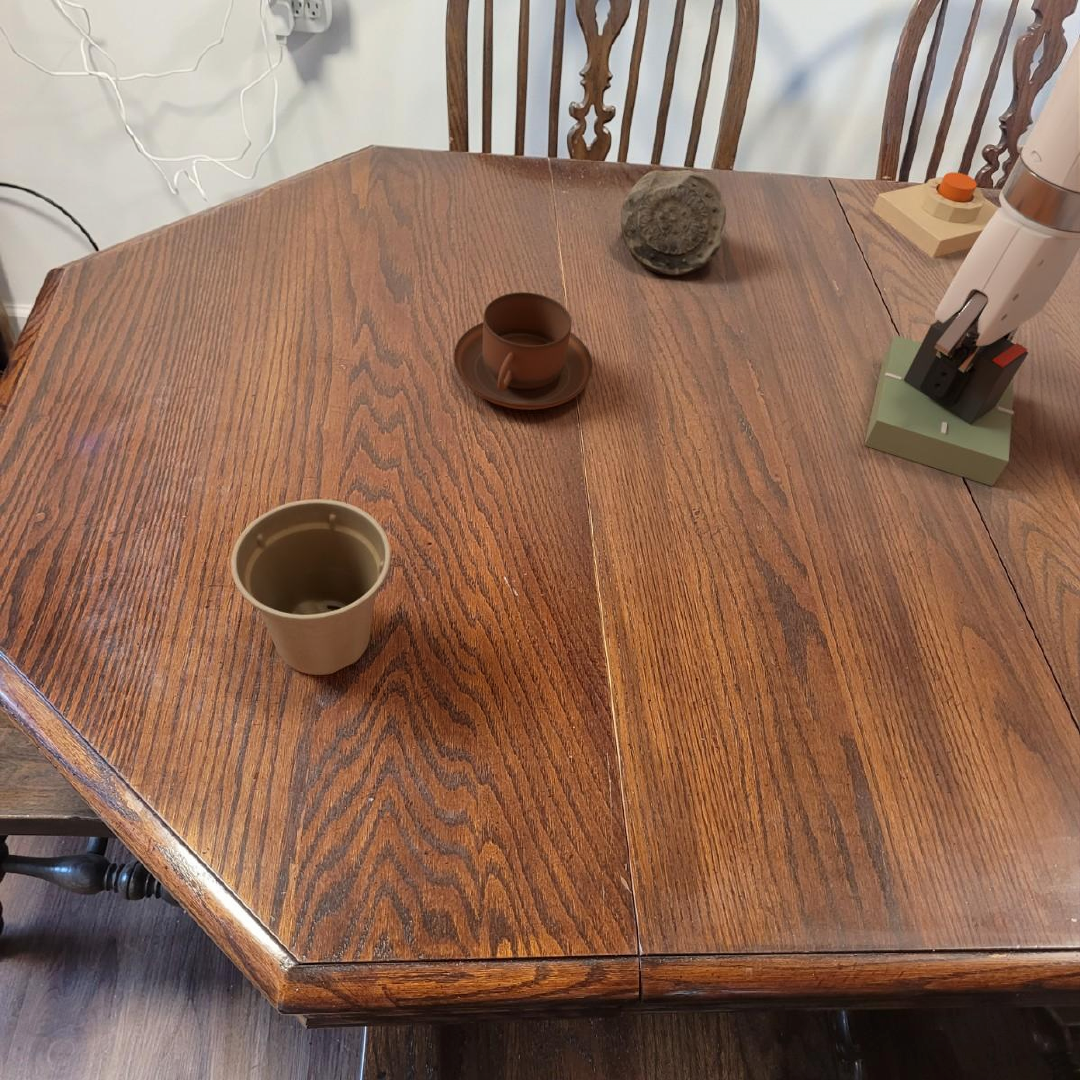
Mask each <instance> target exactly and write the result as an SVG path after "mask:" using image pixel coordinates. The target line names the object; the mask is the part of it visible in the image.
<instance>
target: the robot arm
mask: <svg viewBox="0 0 1080 1080" xmlns="http://www.w3.org/2000/svg"><path fill="white" fill-rule="evenodd" d="M1000 190H1001V191H1000V192H999V195H998V196H999V197H998V201H999V203H1000V206H999V207H998V208H999V209H998V210H997V211H996V213H995V214H994V215H993V217H992V218H991V219H990V221H989V222H988V224H987V225H986V226H985V228H984V229H983V231H982V232H981V234H980V236H979V237H978V239H977V240H976V242H975V243H974V245H973V247H972V248H970V250H969V251H968V253H967V255H966V256H965V258H964V260H963V262H962V263H961V265H960V267H959V269H958V270H957V272H956V274H955V276H954V277H953V279H952V280H951V283H950V285H949V286H948V288H947V290H946V292H945V293H944V295H943V297H942V299H941V300H940V302H939V305H938V307H937V308H936V309H935V313H934V319H935V322H937V321H938V322H942V323H945V322H946V321H948V320H950V319H952V318H953V317H955V316H957V315H958V314H959V315H958V316H957V317H956V318H955V320H954V321H953V322H952V324H951V325H950V326H949V328H948V329H947V330H946V331H945V333H944V334H943V335H942V337H941V338H940V339H939V340H938V342H937V343H936V345H935V349H937V350H938V351H937V353H936V357H935V359H934V361H933V363H932V365H931V367H930V368H929V370H928V372H927V374H926V376H925V378H924V380H923V382H922V384H921V386H920V389H921V391H922V392H924V393H925V394H927V395H928V396H930V397H931V398H933V399H934V400H936V401H937V402H939V403H940V404H941V405H943V406H944V407H946V408H951V407H952V406H954V405H955V403H956V401H957V400H958V398H959V396H960V395H961V393H962V391H963V389H964V388H965V386H966V384H967V382H968V381H969V379H970V377H971V375H972V374H973V372H974V371H973V370H972V369H970V368H971V367H972V365H973V364H974V362H975V361H976V359H977V358H978V356H979V354H980V353H981V351H982V350H983V348H984V347H985V345H989V344H991V343H993V342H995V341H996V340H998V339H1000V338H1001V337H1004V338H1005V339H1007V340H1009V341H1010V342H1012V341H1013V339H1014V337H1015V335H1016V334H1017V331H1018V329H1019V327H1020V326H1022V325H1023V324H1025V323H1026V322H1028V321H1029V320H1031V319H1032V318H1033V317H1035V316H1036V315H1037V314H1039V312H1041V310H1043V308H1044V307H1045V305H1046V304H1047V303H1048V302H1049V301H1050V299H1051V297H1052V296H1053V294H1054V292H1055V291H1056V289H1057V288H1058V286H1059V285H1060V283H1061V282H1062V281H1063V278H1064V276H1065V275H1066V274H1067V271H1068V270H1069V268H1070V267H1071V265H1072V262H1073V261H1074V259H1075V257H1076V255H1077V253H1078V252H1079V250H1080V36H1079V37H1078V39H1077V41H1076V43H1075V45H1074V47H1073V49H1072V51H1071V53H1070V55H1069V57H1068V58H1067V60H1066V63H1065V64H1064V67H1063V69H1062V70H1061V72H1060V74H1059V77H1058V79H1056V82H1055V84H1054V86H1053V88H1052V90H1051V92H1050V93H1049V96H1048V98H1047V100H1046V102H1045V104H1044V106H1043V107H1042V110H1041V112H1040V113H1039V116H1038V117H1037V120H1036V122H1035V124H1034V125H1033V127H1032V130H1031V132H1030V134H1029V135H1028V138H1027V139H1026V142H1025V143H1024V146H1023V147H1022V149H1021V151H1020V153H1019V155H1018V157H1017V159H1016V161H1015V163H1014V164H1013V166H1012V169H1011V171H1010V172H1009V175H1008V177H1007V179H1006V180H1005V182H1004V185H1003V187H1002V189H1000ZM974 326H977V327H978V330H977V331H976V330H974V329H973V327H974ZM964 338H965V339H967V340H968V341H970V342H972V343H973V344H974V345H973V346H972V348H971V349H970V351H969V352H968V354H967V351H966V349H965V348H963V347H962V346H961V343H962V341H963V340H964Z"/></svg>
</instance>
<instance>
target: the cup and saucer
mask: <svg viewBox="0 0 1080 1080" xmlns="http://www.w3.org/2000/svg"><path fill="white" fill-rule="evenodd" d="M572 325H573V324H572V318H571V314H570V312H569V311H568V310H567V308H566V307H564V306H563V304H561V303H560V302H559V301H557V300H555V299H553V298H551V297H549V296H546V295H543V294H540V293H536V292H527V291H526V292H525V291H524V292H523V291H522V292H521V291H519V292H511V293H507V294H506V293H505V294H503V295H500V296H497V297H496V298H494V299H493V300H492V301H490V302H489V303H488V304H487V306H486V307H485V310H484V312H483V321H482V322H480V323H477V324H476V325H474V326H472V327H471V328H469V329H468V330H466V331H465V333H463V334H462V335H461V337H460V338H459V339H458V341H457V342H456V345H455V348H454V352H453V360H454V362H453V363H454V366H455V370H456V372H457V375H458V376H459V378H460V380H461V381H462V382H463V383H464V385H465V386H466V387H467V388H468V389H469V390H470V391H472V392H473V393H474V394H476V395H477V396H479V397H480V398H482V399H484V400H486V401H488V402H490V403H493V404H495V405H498V406H501V407H504V408H505V407H506V408H509V409H514V410H515V409H516V410H523V411H525V410H527V411H528V410H530V411H531V410H533V411H535V410H543V409H549V408H552V407H556V406H560V405H562V404H565V403H567V402H568V401H571V400H573V399H574V398H576V397H577V396H578V395H579V394H580V393H581V392H582V391H584V389H585V387H587V385H588V382H589V381H590V379H591V376H592V373H593V360H592V359H593V358H592V355H591V353H590V351H589V349H588V348H587V346H586V345H585V344H584V342H583V341H582V340H581V339H580V338H579V337H578V336H577V335H575V334H574V333H573V332H572Z"/></svg>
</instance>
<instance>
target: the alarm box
mask: <svg viewBox="0 0 1080 1080" xmlns="http://www.w3.org/2000/svg"><path fill="white" fill-rule="evenodd" d="M943 178H944V176H937V177H935V178H933V177H932V178H929V179H927V181H926V183H922V184H918V185H914V186H909V187H908V186H907V187H903V188H899V189H895V190H891V191H886V192H881V193H879V194H877V195H878V196H877V198H876V200H875V203H874V206H873V208H872V210H871V211H872V212H873V213H874V214H876V215H877V216H878V217H879V218H881V219H882V220H884V221H885V222H886V223H887V224H889V226H891V227H892V228H894V229H895V230H896V231H898V232H899V233H900V234H901V235H903V236H904V237H905V238H906V239H908V240H909V241H910V242H912V243H913V244H914V245H916V246H917V247H918V248H919V249H920V250H922V251H923V252H925V253H926V254H927V255H928V256H930V257H931V258H932V259H933V258H937V257H941V256H945V255H949V254H952V253H956V252H960V251H964V250H968V249H971V248H972V247H973V245H974V243H975V242H976V240H977V239H978V237H979V236H980V234H981V232H982V231H983V229H984V228H985V226H986V225H987V224H988V222H989V221H990V219H991V218H992V217H993V215H994V214H995V213H996V211H997V210H998V209H999V208H1000V207H998V206H997V205H996V204H994V203H993V202H991V201H990V200H989V199H987V198H985V196H984V194H983V192H982V191H981V190H980V189H978V188H976V189H975V191H974V193H973V195H972V197H971V199H970V201H969V202H967V203H960V202H954V201H951V200H948V199H946V198H944V197H943V196H941V195H940V194H938V189H939V186H940V184H941V182H942V180H943Z"/></svg>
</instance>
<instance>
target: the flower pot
mask: <svg viewBox="0 0 1080 1080" xmlns="http://www.w3.org/2000/svg"><path fill="white" fill-rule="evenodd" d="M391 552H392V550H391V544H390V540H389V538H388V535H387V533H386V531H385V529H384V528H383V527H382V526H381V524H380V523H379V522H378V521H377V520H376V519H375V518H374V517H373V516H372V515H371V514H369V513H368V512H367V511H365V510H363V509H361V508H359V507H358V506H355V505H353V504H350V503H347V502H345V501H339V500H336V499H335V500H333V499H324V498H323V499H322V498H321V499H320V498H313V499H312V498H311V499H309V498H308V499H302V500H301V499H300V500H295V501H291V502H287V503H284V504H281V505H278V506H276V507H274V508H272V509H270V510H268V511H265V513H263V514H261V515H260V516H259V515H258V517H257V518H255V519H254V520H253V521H252V522H250V523H249V524H248V525H247V527H245V529H244V530H243V531H242V532H241V534H239V536H238V538H237V540H236V541H235V543H234V547H233V549H232V552H231V559H230V572H231V577H232V579H233V583H235V587H236V589H237V590H238V592H239V593H240V594H241V596H242V597H243V598H244V599H245V600H246V601H247V602H248V603H249V604H251V606H253V607H254V608H255V609H256V610H257V611H258V612H259V614H260V616H261V618H262V620H263V621H262V622H263V623H264V625H265V627H266V629H267V631H268V633H269V635H270V637H271V640H272V642H273V644H274V647H275V650H276V653H277V654H278V655H279V657H280V658H281V659H282V661H283V662H284V663H286V664H287V666H289V667H290V668H292V669H293V670H294V671H298V672H300V673H303V674H308V675H315V676H324V675H332V674H334V673H336V672H338V671H340V670H342V669H344V668H346V667H348V666H350V665H353V664H355V663H356V662H357V661H358V660H359V659H360V658H361V657H362V656H363V654H364V653H365V651H366V650H367V648H368V646H369V642H370V640H371V639H370V638H371V628H372V622H373V617H374V609H375V604H376V598H377V594H378V592H379V590H380V588H381V587H382V586H383V584H384V582H385V580H386V578H387V577H388V573H389V571H390V566H391V559H392V553H391ZM328 607H331V608H332V607H334V608H338V609H335V610H333V609H328Z"/></svg>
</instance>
